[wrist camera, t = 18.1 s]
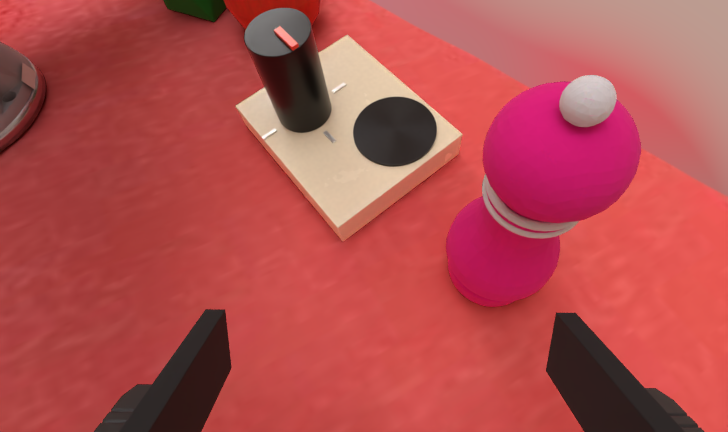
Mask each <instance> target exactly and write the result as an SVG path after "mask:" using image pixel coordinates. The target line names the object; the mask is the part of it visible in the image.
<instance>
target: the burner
mask: <svg viewBox="0 0 728 432" xmlns="http://www.w3.org/2000/svg"><path fill="white" fill-rule="evenodd" d="M436 134H437V125H436V121H435V118H434V116H433V114H432V113H431V112H430V110H429V109H428V108H427V107H426V106H424V105H423V104H422V103H420V102H418V101H416V100H414V99H410V98H406V97H387V98H382V99H380V100H377V101H375V102H373V103H371V104H369V105H368V106H367V107H365V108H364V109H363V110H362V111H361V113H360V114H359V115H358V117H357V119H356V121H355V123H354V127H353V137H354V141H355V144H356V147H357V148H358V150H359V151H360V152H361V154H362V155H363V156H365V157H366V158H367V159H369V160H370V161H372V162H374V163H376V164H379V165H383V166H390V167H397V166H404V165H408V164H411V163H413V162H416V161H418V160H419V159H421V158H422V157H423V156H425V155H426V154H427V153H428V152H429V151H430V149H431V148H432V146H433V144H434V142H435V139H436Z"/></svg>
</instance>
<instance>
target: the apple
mask: <svg viewBox="0 0 728 432" xmlns="http://www.w3.org/2000/svg"><path fill="white" fill-rule="evenodd" d="M224 2H225V5H226V7H227V8H228V10H229V11H230V12H231V13H232V14H233V16H234V17H235V18H236V19H237V20H238V22H239V23H240V24H241V25H242V26H243V28H244V29H245V30H246V28H247V26H248V25H249V23H250V22H251V21H252V20H253V19H254V18H255V17H257V16H258V15H260V14H262V13H263V12H266V11H268V10H271V9H276V8H293V9H296V10H299V11H301V12H303V13H304V14H305V15H306V16H307V17H308V18H309V20H310V22H311V25H312V24H313V22H314V21H315V19H316V17H317V15H318V14H319V5H320V0H224Z"/></svg>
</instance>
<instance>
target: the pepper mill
mask: <svg viewBox="0 0 728 432" xmlns="http://www.w3.org/2000/svg"><path fill="white" fill-rule="evenodd" d="M640 154H641V142H640V138H639V133H638V130H637V127H636V125H635V123H634V120H633V118H632V117H631V115H630V114H629V113H628V111H627V110H626V108H625V107H624V106H623V105H622V104H621V103H620V102H619V101H618V100H617V99H616V92H615V89H614V86H613V85H612V84H611V82H610V81H608V80H607V79H605V78H603V77H600V76H596V75H588V76H582V77H579V78H577V79H575V80H574V81H572V82H554V83H546V84H542V85H539V86H536V87H533V88H531V89H529V90H526V91H524V92H522V93H521V94H519V95H518V96H516V97H515V98H513V99H512V100H511V101H509V102H508V103H507V104H506V105H505V106H504V107H503V108H502V109H501V111H500V112H499V113H498V114H497V116H496V117H495V119H494V120H493V122H492V124H491V126H490V128H489V130H488V132H487V135H486V138H485V142H484V147H483V165H484V170H485V173H486V174H485V176H484V179H483V184H482V195H483V196H482V197H480V198H478V199H475V200H473V201H472V202H471V203H469V204H468V205H467V206H465V207H464V208H463V209H462V210H461V211H460V212H459V213H458V214H457V216H456V218H455V220H454V221H453V223H452V225H451V227H450V230H449V232H448V236H447V241H446V252H447V258H448V270H449V274H450V277H451V280H452V282H453V284H454V285H455V287H456V288H457V290H458V291H459V292H460V293H461V294H462V295H463V296H464V297H466V298H467V299H469V300H470V301H472V302H475V303H477V304H479V305H483V306H489V307H497V306H504V305H507V304H510V303H512V302H514V301H516V300H520V299H523V298H526V297H529V296H530V295H532V294H534V293H536V292H537V291H538V290H540V289H541V288H542V287H543V286H544V285H545V283H546V282H547V281H548V280H549V278H550V277H551V276H552V274H553V272H554V270H555V269H556V267H557V263H558V259H559V253H560V240H559V235H561V234H563V233H565V232H567V231H569V230H570V229H572V228H573V227H574V226H575V225H576V224H577V223H578V222H579V221H580V220H584V219H587V218H589V217H591V216H593V215H596V214H598V213H600V212H602V211H604V210H606V209H607V208H608V207H609V206H611V205H612V204H613V203H614V202H616V201H617V200H618V199H619V198H620V197H621V195H622V194H623V193H624V192H625V190H626V189H627V188H628V187H629V185H630V183H631V181H632V179H633V178H634V176H635V174H636V171H637V167H638V164H639V159H640Z"/></svg>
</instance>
